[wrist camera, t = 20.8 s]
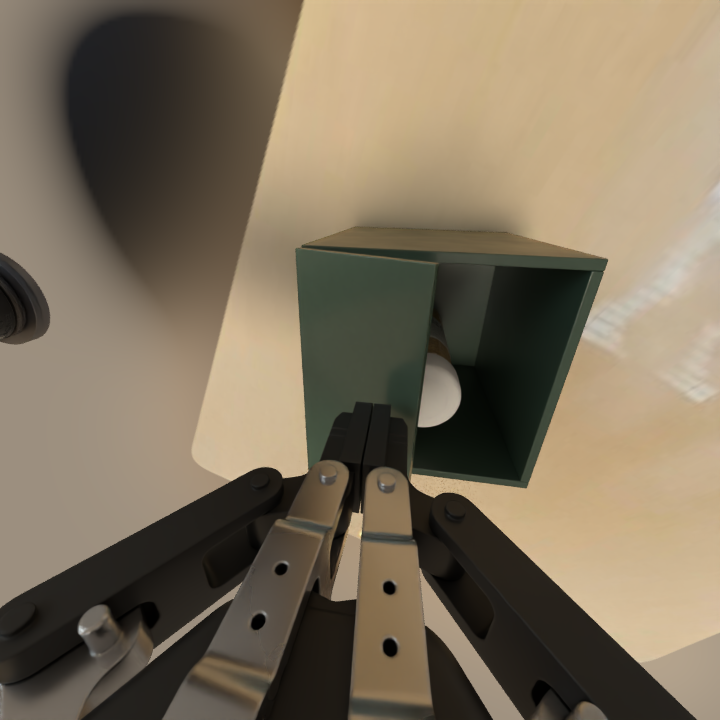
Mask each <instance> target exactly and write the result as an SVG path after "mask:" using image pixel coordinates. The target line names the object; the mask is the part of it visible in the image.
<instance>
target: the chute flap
mask: <svg viewBox="0 0 720 720" xmlns="http://www.w3.org/2000/svg"><path fill="white" fill-rule="evenodd" d="M295 250H296V267H297V284H298V301H299V318H300V335H301V352H302V369H303V385H304V402H305V419H306V436H307V453H308V469H310V468H311V467H312V466H313V465H314V464H316V463H317V462H319V461H320V458H321V455H322V453H323V450H324V447H325V444H326V442H327V439H328V436H329V433H330V431H331V429H332V425H333V422H334V420H335V418H336V417H337V416H338V415H339V414H341V413H342V412H349V413H353V410H354V406H355V403H356V401H357V402H367V403H373V407H374V403H377V404H387V405H391V415H390V417H395V418H403V419H404V421H405V423H406V424H407V426H408V452H407V476H408V479H409V481H410V480H411V473H412V465H413V458H414V450H415V443H416V435H417V427H418V420H419V412H420V405H421V397H422V390H423V382H424V375H425V367H426V360H427V352H428V345H429V337H430V329H431V322H432V314H433V307H434V299H435V292H436V284H437V277H438V269H439V263H435V262H426V261H417V260H408V259H400V258H391V257H382V256H373V255H364V254H355V253H346V252H337V251H328V250H319V249H310V248H296V249H295Z"/></svg>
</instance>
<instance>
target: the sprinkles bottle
mask: <svg viewBox="0 0 720 720" xmlns="http://www.w3.org/2000/svg"><path fill="white" fill-rule="evenodd" d="M460 401H461V388H460V383H459V379H458V376H457V373H456V371H455V369H454V367H453V366H452V364H451V356H450V352H449V349H448V345H447V341H446V338H445V334H444V331H443V328H442V321H441V318H440V315H439V314H438V312H437V311H436V310H435V309H434V308H433V314H432V322H431V329H430V337H429V345H428V352H427V360H426V367H425V375H424V382H423V390H422V397H421V405H420V412H419V420H418V427H432V426H436V425H439V424H441V423H443V422H445V421H447V420H448V419H450V418H451V417H452V416H453V415H454V414H455V412H456V411H457V409H458V407H459V405H460Z"/></svg>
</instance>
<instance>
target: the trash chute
mask: <svg viewBox="0 0 720 720" xmlns="http://www.w3.org/2000/svg"><path fill="white" fill-rule="evenodd" d="M301 248H310V249H319V250H328V251H337V252H346V253H355V254H364V255H373V256H382V257H391V258H400V259H408V260H417V261H426V262H435V263H439V269H438V277H437V284H436V292H435V299H434V307H433V308H434V309H435V310H436V311H437V312H438V314H439V315H440V318H441V321H442V328H443V331H444V334H445V338H446V341H447V345H448V349H449V352H450V356H451V364H452V366H453V367H454V369H455V371H456V373H457V376H458V379H459V383H460V388H461V401H460V405H459V407H458V409H457V411H456V412H455V414H454V415H453V416H452V417H451V418H450V419H448V420H447V421H445V422H443V423H441V424H439V425H436V426H432V427H417V435H416V443H415V450H414V458H413V465H412V473H411V474H419V475H427V476H434V477H442V478H450V479H458V480H466V481H473V482H481V483H489V484H497V485H504V486H512V487H520V488H527V486H528V483H529V480H530V478H531V475H532V472H533V469H534V466H535V464H536V461H537V458H538V455H539V452H540V450H541V447H542V444H543V441H544V438H545V436H546V433H547V430H548V427H549V424H550V422H551V419H552V416H553V413H554V410H555V408H556V405H557V402H558V399H559V396H560V394H561V391H562V388H563V385H564V383H565V380H566V377H567V374H568V371H569V369H570V366H571V363H572V360H573V357H574V355H575V352H576V349H577V346H578V343H579V341H580V338H581V335H582V332H583V329H584V327H585V324H586V321H587V318H588V315H589V313H590V310H591V307H592V304H593V301H594V299H595V296H596V293H597V290H598V287H599V285H600V282H601V279H602V276H603V274H604V272H603V271H604V270H605V268H606V265H607V262H608V259H606V258H602V257H598V256H594V255H590V254H587V253H583V252H579V251H575V250H571V249H568V248H564V247H560V246H556V245H552V244H548V243H545V242H541V241H537V240H533V239H529V238H526V237H522V236H518V235H514V234H510V233H507V232H482V231H456V230H430V229H404V228H378V227H353V228H350V229H347V230H344V231H341V232H338V233H336V234H333V235H330V236H327V237H324V238H321V239H318V240H315V241H312V242H309V243H306V244H304V245H302V246H301Z"/></svg>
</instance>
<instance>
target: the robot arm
mask: <svg viewBox="0 0 720 720" xmlns="http://www.w3.org/2000/svg"><path fill="white" fill-rule="evenodd" d="M25 324H26V313H25V309H24V306H23V304H22V301H21V299H20V298H19V296H18V294H17V293H16V291H15V290H14V289H13V287H12V286H11V285H10V284H9V283H8V282H7V281H6V280H5V279H4V278H3V277H2V276H1V275H0V339H2V338H8V337H11V336H14V335H17V334H19V333H20V332H22V330H23V329H24V327H25ZM390 415H391V405H387V404H377V403H374V407H373V403H367V402H357V401H356V403H355V406H354V410H353V413H349V412H342V413H341V414H339V415H338V416H337V417H336V418H335V420H334V422H333V425H332V429H331V431H330V433H329V436H328V439H327V442H326V444H325V447H324V450H323V453H322V455H321V458H320V461H319V462H317V463H316V464H314V465H313V466H312V467H311V468H310V469H309V471H308V473H307V474H305V475H302V476H298V477H291V478H282V475H281V473H280V472H279V471H277V470H276V469H273V468H269V467H262V468H257V469H254V470H252V471H250V472H248V473H246V474H244V475H242V476H241V477H239V478H237V479H235V480H233V481H231V482H229V483H228V484H226V485H224V486H222V487H220V488H218V489H217V490H215V491H213V492H211V493H209V494H207V495H205V496H203V497H201V498H200V499H198V500H196V501H194V502H192V503H190V504H188V505H187V506H185V507H183V508H181V509H179V510H177V511H175V512H173V513H172V514H170V515H168V516H166V517H164V518H162V519H160V520H159V521H157V522H155V523H153V524H151V525H149V526H147V527H146V528H144V529H142V530H140V531H138V532H136V533H134V534H133V535H131V536H129V537H127V538H125V539H123V540H121V541H119V542H118V543H116V544H114V545H112V546H110V547H108V548H106V549H105V550H103V551H101V552H99V553H97V554H95V555H93V556H92V557H90V558H88V559H86V560H84V561H82V562H81V563H79V564H77V565H75V566H73V567H71V568H69V569H67V570H65V571H64V572H62V573H60V574H58V575H56V576H55V577H52V578H51V579H49V580H47V581H45V582H43V583H41V584H39V585H38V586H36V587H34V588H32V589H30V590H28V591H26V592H25V593H23V594H21V595H19V596H17V597H16V598H14V599H12V600H11V601H9V602H8V603H6V604H5V605H4V606H2V607H1V608H0V720H493V719H492V717H491V716H490V714H489V712H488V711H487V709H486V707H485V706H484V704H483V702H482V701H481V699H480V697H479V696H478V694H477V693H476V691H475V689H474V688H473V686H472V684H471V683H470V681H469V680H468V678H467V677H466V675H465V673H464V671H463V670H462V668H461V666H460V665H459V663H458V661H457V660H456V658H455V657H454V655H453V654H452V652H451V651H450V650H449V648H448V647H447V646H446V645H445V643H444V642H443V641H442V640H441V639H440V638H439V637H438V636H437V635H436V634H435V633H434V632H433V631H432V630H430V629H429V628H428V627H427V626H425V623H424V613H423V602H422V593H421V581H420V571H419V568H421V570H422V573H423V576H424V577H425V579H426V581H427V582H428V583H429V585H430V586H431V588H432V589H433V590H434V592H435V593H436V595H437V596H438V598H439V599H440V600H441V602H442V603H443V605H444V606H445V607H446V609H447V610H448V612H449V613H450V614H451V616H452V617H453V619H454V620H455V622H456V623H457V624H458V626H459V627H460V629H461V630H462V632H463V633H464V634H465V636H466V637H467V639H468V640H469V641H470V643H471V644H472V646H473V647H474V649H475V650H476V651H477V653H478V654H479V656H480V657H481V659H482V660H483V661H484V663H485V664H486V665H487V667H488V668H489V670H490V671H491V673H492V674H493V676H494V677H495V678H496V680H497V681H498V683H499V684H500V685H501V687H502V688H503V690H504V691H505V693H506V694H507V695H508V697H509V698H510V700H511V701H512V702H513V704H514V705H515V707H516V708H517V710H518V711H519V712H520V714H521V715H522V717H523V718H524V719H525V720H696V718H695V717H693V716H692V715H691V714H690V713H689V712H688V711H687V710H686V709H685V708H684V707H683V706H682V705H681V704H680V703H679V702H678V701H677V700H676V699H675V698H674V697H673V696H672V695H671V694H670V693H668V692H667V691H666V690H665V689H664V688H663V687H662V686H661V685H660V684H659V683H658V682H657V681H656V680H655V679H654V678H653V677H652V676H651V675H650V674H649V673H648V672H647V671H646V670H645V669H644V668H643V667H642V666H641V665H640V664H639V663H638V662H636V661H635V660H634V659H633V658H632V657H631V656H630V655H629V654H628V653H627V652H626V651H625V650H624V649H623V648H622V647H621V646H620V645H619V644H618V643H617V642H616V641H615V640H614V639H613V638H612V637H611V636H610V635H609V634H607V633H606V632H605V631H604V630H603V629H602V628H601V627H600V626H599V625H598V624H597V623H596V622H595V621H594V620H593V619H592V618H591V617H590V616H589V615H588V614H587V613H586V612H585V611H584V610H583V609H582V608H581V607H580V606H578V605H577V604H576V603H575V602H574V601H573V600H572V599H571V598H570V597H569V596H568V595H567V594H566V593H565V592H564V591H563V590H562V589H561V588H560V587H559V586H558V585H557V584H556V583H555V582H554V581H553V580H552V579H550V578H549V577H548V576H547V575H546V574H545V573H544V572H543V571H542V570H541V569H540V568H539V567H538V566H537V565H536V564H535V563H534V562H533V561H532V560H531V559H530V558H529V557H528V556H527V555H526V554H525V553H524V552H523V551H521V550H520V549H519V548H518V547H517V546H516V545H515V544H514V543H513V542H512V541H511V540H510V539H509V538H508V537H507V536H506V535H505V534H504V533H503V532H502V531H501V530H500V529H499V528H498V527H497V526H496V525H495V524H494V523H492V522H491V521H490V520H489V519H488V518H487V517H486V516H485V515H484V514H483V513H482V512H481V511H480V510H479V509H478V508H477V507H476V506H475V505H474V504H473V503H472V502H471V501H469V500H468V499H467V498H465V497H463V496H461V495H459V494H455V493H442V494H439V495H438V496H436V497H435V498H433V497H430V496H428V495H426V494H424V493H422V492H420V491H418V490H417V489H416V488H415V487H414V486H413V485H412V484H411V483H410V481H409V479H408V476H407V452H408V426H407V424H406V423H405V421H404V419H403V418H395V417H390ZM360 503H361V513H362V514H363V524H362V535H361V547H360V562H359V575H358V589H357V599H355V600H346V601H338V602H335V601H331V595H332V590H333V585H334V581H335V578H336V574H337V571H338V567H339V564H340V560H341V557H342V553H343V549H344V546H345V542H346V538H347V535H348V527H349V525H350V521H351V515H352V512H355V513H359V509H360ZM241 582H242V584H241V586H240V588H239V590H238V592H237V594H236V596H235V598H234V599H232V600H230V601H229V602H226V603H225V604H223V605H222V606H220V607H219V608H218V609H216V610H215V611H214V612H212V613H211V614H210V615H209V616H207V617H206V618H205V619H204V620H202V621H201V622H200V623H199V624H198V625H196V626H195V627H194V628H193V629H191V630H190V631H189V632H188V633H186V634H185V635H184V636H183V637H182V638H180V639H179V640H178V641H177V642H175V643H174V644H173V645H172V646H171V647H169V648H168V649H167V650H166V651H164V652H163V653H162V654H161V655H160V656H158V657H157V658H156V659H155V660H153V661H152V662H151V663H150V664H148V662H149V660H150V658H151V655H152V652H153V649H154V648H156V647H157V646H158V645H160V644H161V643H162V642H164V641H165V640H166V639H168V638H169V637H170V636H171V635H173V634H174V633H175V632H177V631H178V630H179V629H181V628H182V627H183V626H185V625H186V624H187V623H189V622H190V621H191V620H192V619H194V618H195V617H196V616H198V615H199V614H201V613H202V612H203V611H204V610H206V609H207V608H208V607H210V606H211V605H212V604H214V603H215V602H216V601H218V600H219V599H220V598H222V597H223V596H224V595H226V594H227V593H228V592H230V591H231V590H232V589H234V588H235V587H236V586H237V585H239V584H240V583H241ZM147 664H148V665H147Z"/></svg>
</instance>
